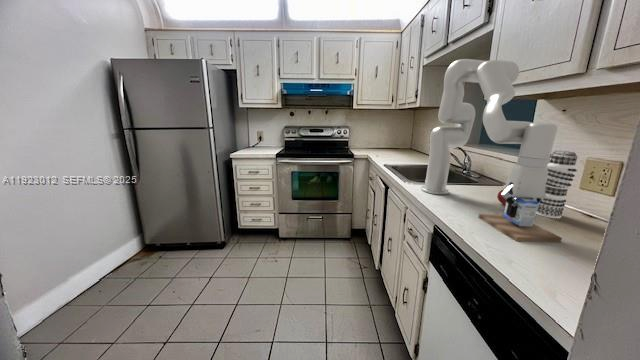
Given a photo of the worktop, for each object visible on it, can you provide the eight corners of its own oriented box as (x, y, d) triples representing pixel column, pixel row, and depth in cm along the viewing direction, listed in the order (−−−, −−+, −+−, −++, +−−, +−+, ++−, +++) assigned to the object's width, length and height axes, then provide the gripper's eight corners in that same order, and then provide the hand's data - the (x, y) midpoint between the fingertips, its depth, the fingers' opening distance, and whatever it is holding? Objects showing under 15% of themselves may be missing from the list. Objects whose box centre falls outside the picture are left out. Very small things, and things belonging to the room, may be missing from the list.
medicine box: (502, 216, 89) (507, 193, 86) (515, 216, 89) (520, 193, 86) (518, 226, 81) (525, 201, 79) (532, 226, 81) (539, 201, 79)
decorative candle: (555, 212, 102) (573, 150, 96) (567, 220, 94) (588, 154, 87) (528, 208, 105) (543, 149, 99) (537, 216, 97) (555, 152, 91)
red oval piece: (496, 205, 108) (500, 187, 106) (494, 201, 113) (498, 184, 111) (513, 208, 105) (517, 189, 103) (510, 204, 110) (515, 186, 108)
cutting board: (478, 217, 94) (479, 213, 93) (514, 218, 94) (515, 214, 94) (516, 241, 76) (517, 237, 76) (560, 242, 77) (562, 237, 76)
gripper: (547, 161, 83) (533, 212, 88) (497, 159, 83) (485, 211, 88) (569, 166, 76) (552, 221, 81) (515, 164, 76) (501, 220, 80)
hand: (518, 215), depth 84 cm, fingers open, 4 cm apart
